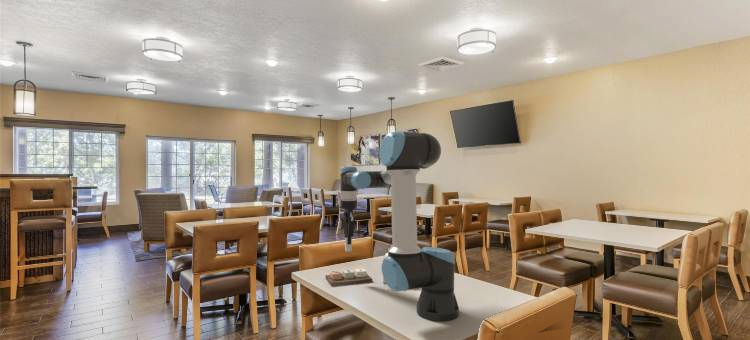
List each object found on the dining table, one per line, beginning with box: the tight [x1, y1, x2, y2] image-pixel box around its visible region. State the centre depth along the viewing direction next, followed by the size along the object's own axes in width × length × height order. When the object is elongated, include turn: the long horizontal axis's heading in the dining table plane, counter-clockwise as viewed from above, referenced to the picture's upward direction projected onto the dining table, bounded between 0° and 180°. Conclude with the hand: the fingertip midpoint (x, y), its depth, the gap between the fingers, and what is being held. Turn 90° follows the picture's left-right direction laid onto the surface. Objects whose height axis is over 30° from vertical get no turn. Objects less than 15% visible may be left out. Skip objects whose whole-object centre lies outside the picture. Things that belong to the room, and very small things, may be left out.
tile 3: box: [329, 270, 343, 280], centre depth 171 cm, size 4×4×3 cm
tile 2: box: [342, 269, 355, 279], centre depth 173 cm, size 4×4×3 cm
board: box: [325, 273, 373, 287], centre depth 173 cm, size 12×19×2 cm, turn 109°
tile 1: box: [354, 268, 368, 278], centre depth 175 cm, size 4×4×3 cm
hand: (348, 250), depth 173 cm, fingers closed
